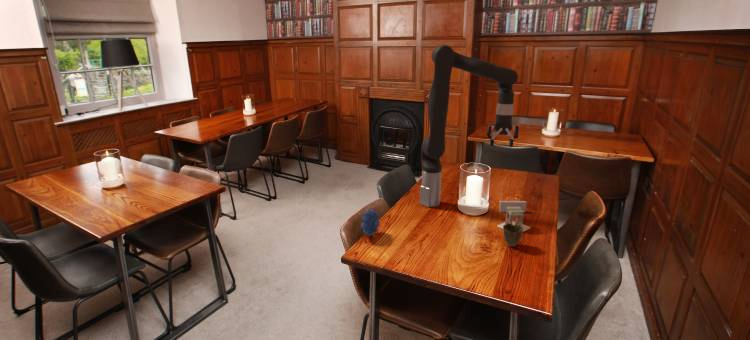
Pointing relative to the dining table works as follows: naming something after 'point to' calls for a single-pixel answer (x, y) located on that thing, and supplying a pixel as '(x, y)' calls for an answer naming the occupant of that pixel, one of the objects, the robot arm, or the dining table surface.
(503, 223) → the mat
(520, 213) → the stool
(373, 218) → the grapes
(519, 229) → the cup
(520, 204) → the block
